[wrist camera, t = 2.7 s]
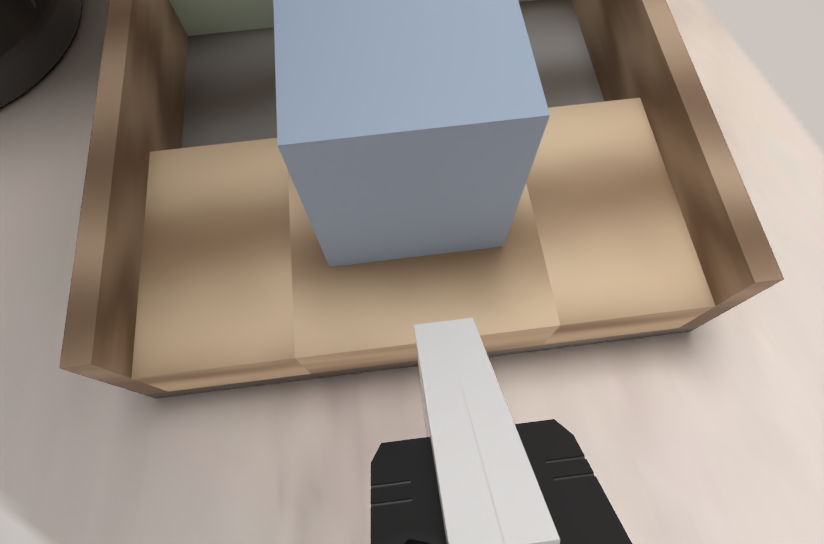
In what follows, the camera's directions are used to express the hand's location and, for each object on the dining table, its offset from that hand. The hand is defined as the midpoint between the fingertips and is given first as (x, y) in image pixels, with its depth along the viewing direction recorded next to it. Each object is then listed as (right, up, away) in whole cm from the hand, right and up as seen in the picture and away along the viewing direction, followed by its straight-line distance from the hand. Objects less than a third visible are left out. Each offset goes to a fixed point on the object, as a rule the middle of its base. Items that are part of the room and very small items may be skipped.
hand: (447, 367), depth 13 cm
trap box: (-2, +12, +15) cm, 20 cm away
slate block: (-1, +6, +9) cm, 11 cm away
